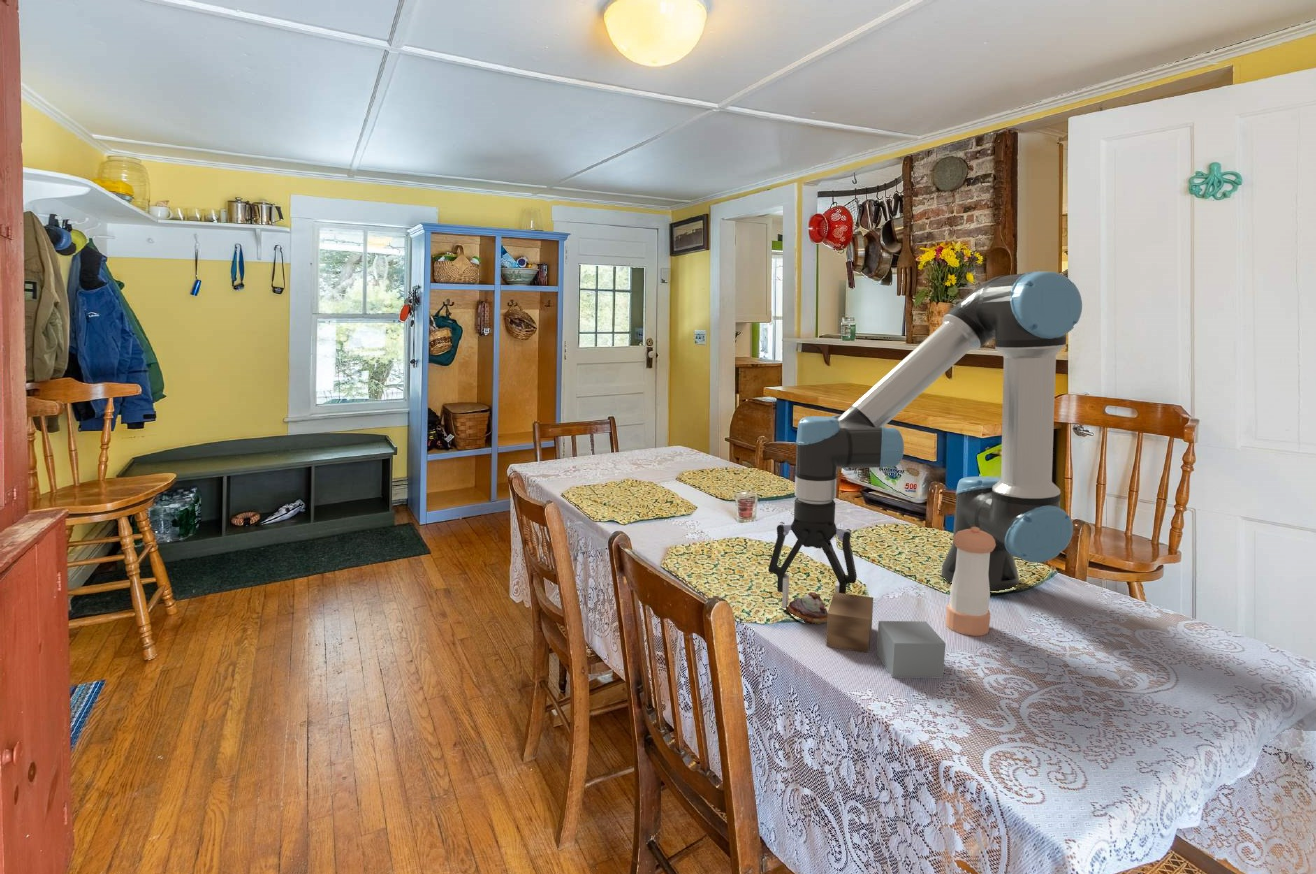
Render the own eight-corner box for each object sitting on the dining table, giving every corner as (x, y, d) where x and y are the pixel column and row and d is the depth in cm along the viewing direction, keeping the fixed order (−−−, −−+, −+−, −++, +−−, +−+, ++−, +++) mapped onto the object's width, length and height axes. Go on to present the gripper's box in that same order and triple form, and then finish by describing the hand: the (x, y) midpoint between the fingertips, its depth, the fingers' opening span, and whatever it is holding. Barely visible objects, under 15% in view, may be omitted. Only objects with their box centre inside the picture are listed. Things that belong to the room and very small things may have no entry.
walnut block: (871, 628, 125) (873, 597, 124) (868, 652, 116) (869, 619, 115) (832, 622, 127) (834, 592, 126) (826, 645, 118) (827, 613, 117)
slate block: (923, 654, 116) (926, 621, 115) (942, 678, 108) (945, 643, 107) (876, 654, 116) (878, 621, 115) (892, 678, 108) (894, 643, 107)
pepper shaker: (948, 615, 131) (956, 519, 127) (990, 623, 127) (999, 525, 124) (943, 630, 124) (950, 529, 121) (987, 639, 121) (996, 535, 118)
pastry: (835, 624, 127) (836, 598, 126) (797, 627, 126) (798, 601, 125) (817, 606, 135) (818, 582, 134) (781, 609, 134) (782, 585, 133)
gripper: (876, 499, 128) (870, 612, 131) (761, 489, 135) (759, 596, 139) (874, 509, 121) (867, 628, 124) (753, 498, 128) (750, 610, 132)
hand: (810, 611), depth 132 cm, fingers open, 9 cm apart
